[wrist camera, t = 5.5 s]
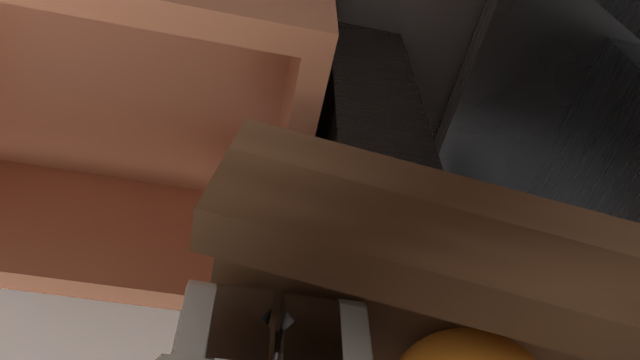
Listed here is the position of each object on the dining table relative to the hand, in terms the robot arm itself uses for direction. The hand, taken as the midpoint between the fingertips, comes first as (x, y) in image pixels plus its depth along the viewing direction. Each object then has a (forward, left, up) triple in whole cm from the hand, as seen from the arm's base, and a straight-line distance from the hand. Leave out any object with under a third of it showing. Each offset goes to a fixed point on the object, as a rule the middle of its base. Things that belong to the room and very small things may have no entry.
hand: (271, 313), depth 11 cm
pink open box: (+5, 0, -8) cm, 9 cm away
